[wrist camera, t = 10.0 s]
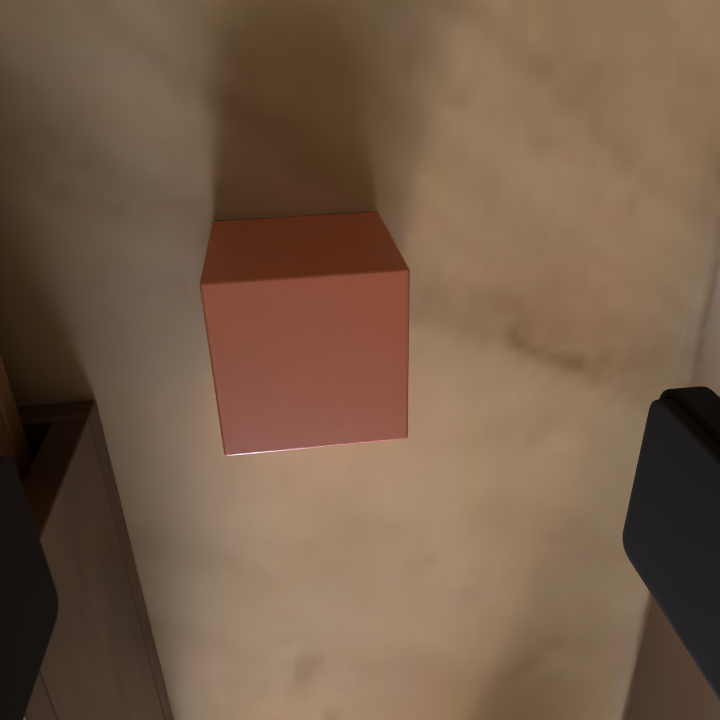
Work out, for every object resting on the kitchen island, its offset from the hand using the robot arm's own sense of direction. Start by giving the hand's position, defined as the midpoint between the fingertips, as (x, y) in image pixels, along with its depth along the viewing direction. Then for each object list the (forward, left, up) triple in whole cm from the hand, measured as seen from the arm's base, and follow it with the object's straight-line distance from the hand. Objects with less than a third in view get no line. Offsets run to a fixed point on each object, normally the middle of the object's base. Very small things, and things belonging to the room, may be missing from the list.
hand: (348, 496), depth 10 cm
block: (0, 0, -8) cm, 8 cm away
